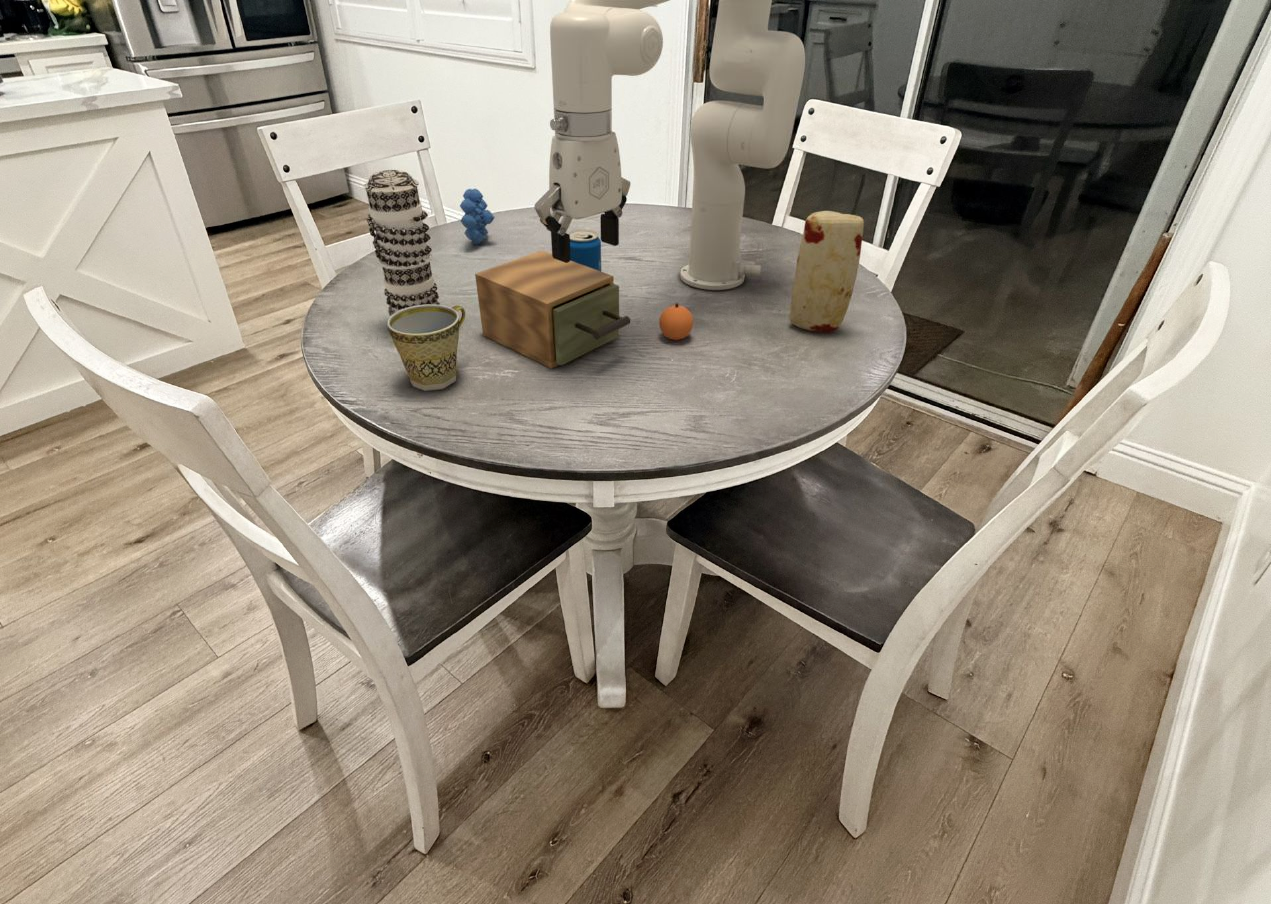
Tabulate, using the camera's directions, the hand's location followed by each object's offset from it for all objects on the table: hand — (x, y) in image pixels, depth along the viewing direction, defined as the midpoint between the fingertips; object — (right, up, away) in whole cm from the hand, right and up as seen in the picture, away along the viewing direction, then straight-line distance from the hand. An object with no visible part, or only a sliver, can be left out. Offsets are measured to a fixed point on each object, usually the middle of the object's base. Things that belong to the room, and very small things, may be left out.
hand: (586, 251), depth 102 cm
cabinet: (-7, -10, +16) cm, 20 cm away
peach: (+14, -8, +14) cm, 21 cm away
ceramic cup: (-22, -18, +5) cm, 29 cm away
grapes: (-26, +16, +51) cm, 60 cm away
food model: (+38, -8, +20) cm, 44 cm away
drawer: (-4, -11, +13) cm, 17 cm away
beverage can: (-2, -1, +28) cm, 28 cm away
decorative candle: (-30, -8, +19) cm, 36 cm away
